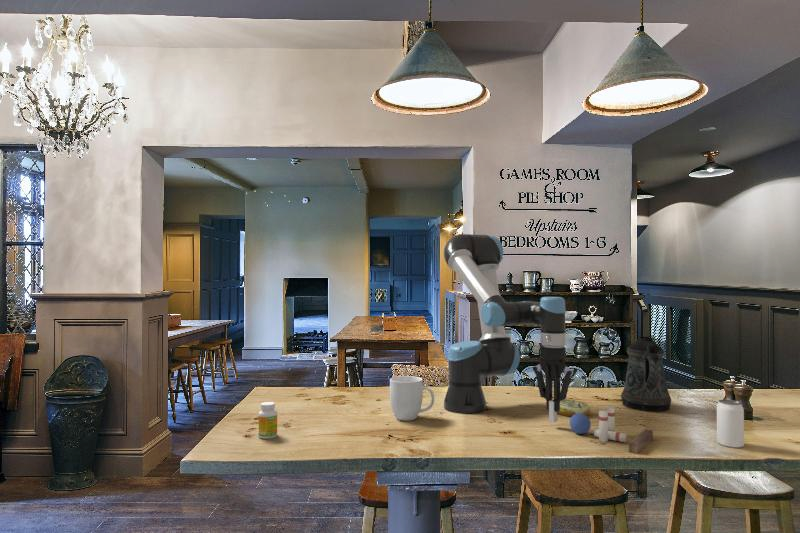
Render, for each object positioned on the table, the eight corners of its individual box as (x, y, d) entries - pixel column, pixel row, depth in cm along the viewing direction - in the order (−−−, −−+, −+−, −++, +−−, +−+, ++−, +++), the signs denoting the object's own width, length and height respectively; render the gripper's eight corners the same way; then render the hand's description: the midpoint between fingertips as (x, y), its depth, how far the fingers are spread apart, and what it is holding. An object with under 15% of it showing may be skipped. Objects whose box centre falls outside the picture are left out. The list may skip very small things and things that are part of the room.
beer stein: (646, 399, 199) (646, 334, 199) (689, 412, 181) (688, 340, 181) (611, 402, 194) (610, 335, 194) (651, 416, 176) (650, 342, 176)
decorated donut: (584, 420, 171) (584, 408, 171) (549, 415, 178) (549, 403, 178) (593, 412, 180) (593, 401, 180) (560, 407, 187) (560, 396, 187)
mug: (432, 413, 179) (432, 375, 179) (436, 422, 168) (435, 382, 168) (389, 413, 178) (389, 375, 178) (389, 423, 167) (390, 382, 167)
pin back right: (597, 441, 149) (597, 411, 150) (600, 438, 151) (600, 409, 151) (606, 442, 148) (606, 412, 148) (609, 440, 150) (609, 411, 150)
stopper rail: (628, 452, 140) (628, 442, 140) (645, 437, 153) (645, 429, 153) (636, 453, 139) (636, 444, 139) (653, 439, 151) (652, 430, 151)
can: (711, 441, 149) (711, 399, 150) (732, 440, 150) (732, 398, 150) (727, 448, 143) (727, 405, 143) (749, 448, 144) (749, 404, 144)
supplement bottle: (267, 440, 150) (267, 406, 150) (254, 437, 153) (254, 404, 153) (281, 435, 155) (281, 402, 155) (268, 432, 157) (268, 400, 158)
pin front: (593, 432, 152) (623, 438, 147) (596, 426, 154) (625, 431, 148) (595, 438, 153) (625, 444, 148) (597, 432, 155) (627, 438, 149)
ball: (589, 426, 151) (579, 440, 154) (597, 420, 156) (587, 434, 158) (572, 412, 155) (562, 426, 157) (580, 406, 159) (571, 421, 161)
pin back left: (604, 436, 154) (604, 407, 154) (607, 434, 156) (607, 405, 156) (613, 437, 152) (613, 408, 153) (616, 435, 154) (615, 407, 154)
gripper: (528, 345, 164) (528, 420, 164) (568, 349, 156) (568, 428, 155) (538, 343, 170) (538, 415, 170) (577, 346, 162) (578, 422, 161)
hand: (553, 421), depth 163 cm, fingers closed
